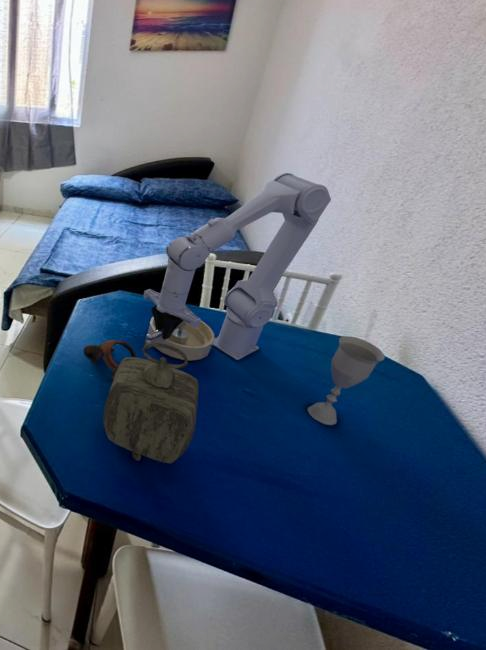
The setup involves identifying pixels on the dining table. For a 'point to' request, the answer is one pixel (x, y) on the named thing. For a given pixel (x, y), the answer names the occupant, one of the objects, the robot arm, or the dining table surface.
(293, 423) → the dining table surface
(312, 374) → the dining table surface
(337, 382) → the chalice
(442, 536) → the dining table surface
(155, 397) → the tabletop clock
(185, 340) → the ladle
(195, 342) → the bowl
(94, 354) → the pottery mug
